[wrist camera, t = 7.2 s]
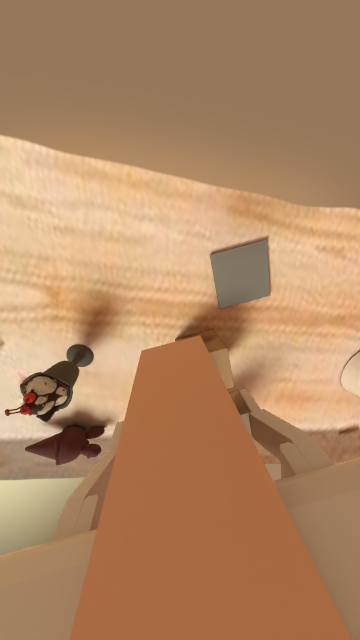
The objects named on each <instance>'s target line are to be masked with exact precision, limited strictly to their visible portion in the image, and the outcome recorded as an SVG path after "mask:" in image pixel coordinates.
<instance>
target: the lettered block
mask: <svg viewBox="0 0 360 640" xmlns="http://www.w3.org/2000/svg"><path fill="white" fill-rule="evenodd" d="M199 335H200V336H201V338H202V340H203V342H204V344H205V346H206V348H207V350H208V352H209V354H210V356H211V358H212V360H213V362H214V364H215V366H216V368H217V370H218V372H219V374H220V376H221V378H222V380H223V382H224V384H225V386H226V388H227V389H229V388H233V387H234V383H233V378H232V372H231V366H230V360H229V354H228V349H227V347H226V346H225V344H224V343H223V342H222V340H221V339H220V338H219V336H218V335H217V334H216V332H215V331H214V330H213V329H211V330H207V331H204V332H200V333H196V334H193V335H189V336H185V337H182V338H178V339H175V342H176V341H180V340H184V339H187V338H191V337H195V336H199Z"/></svg>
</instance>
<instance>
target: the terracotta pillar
mask: <svg viewBox="0 0 360 640" xmlns="http://www.w3.org/2000/svg"><path fill="white" fill-rule="evenodd" d="M69 640H352V639H351V637H350V635H349V633H348V631H347V629H346V627H345V625H344V623H343V621H342V619H341V617H340V615H339V613H338V611H337V609H336V607H335V605H334V603H333V601H332V599H331V597H330V595H329V593H328V591H327V589H326V587H325V585H324V583H323V581H322V579H321V577H320V575H319V573H318V571H317V569H316V567H315V565H314V563H313V561H312V559H311V557H310V555H309V553H308V551H307V549H306V547H305V545H304V543H303V541H302V539H301V537H300V535H299V533H298V531H297V528H296V526H295V524H294V522H293V520H292V518H291V516H290V514H289V512H288V510H287V508H286V506H285V504H284V502H283V500H282V498H281V496H280V494H279V492H278V490H277V488H276V486H275V484H274V482H273V480H272V478H271V476H270V474H269V472H268V470H267V468H266V466H265V464H264V462H263V460H262V458H261V456H260V454H259V452H258V450H257V448H256V446H255V444H254V442H253V440H252V438H251V436H250V434H249V432H248V430H247V428H246V426H245V424H244V422H243V420H242V418H241V416H240V414H239V412H238V410H237V408H236V406H235V404H234V402H233V400H232V398H231V396H230V394H229V392H228V390H227V388H226V386H225V384H224V382H223V380H222V378H221V376H220V374H219V372H218V370H217V368H216V366H215V364H214V362H213V360H212V358H211V356H210V354H209V352H208V350H207V348H206V346H205V344H204V342H203V340H202V338H201V336H200V335H199V336H195V337H191V338H187V339H184V340H180V341H176V342H173V343H169V344H165V345H161V346H158V347H154V348H150V349H147V350H143V351H142V352H141V356H140V360H139V364H138V368H137V372H136V376H135V380H134V384H133V388H132V392H131V396H130V400H129V404H128V408H127V412H126V416H125V420H124V424H123V428H122V432H121V436H120V440H119V444H118V448H117V452H116V456H115V460H114V464H113V468H112V472H111V476H110V480H109V484H108V488H107V492H106V496H105V500H104V504H103V508H102V512H101V516H100V520H99V524H98V528H97V532H96V536H95V540H94V544H93V548H92V552H91V556H90V560H89V564H88V567H87V571H86V575H85V579H84V583H83V587H82V591H81V595H80V599H79V603H78V607H77V611H76V615H75V619H74V623H73V627H72V631H71V635H70V639H69Z"/></svg>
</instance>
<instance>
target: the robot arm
mask: <svg viewBox="0 0 360 640" xmlns="http://www.w3.org/2000/svg"><path fill="white" fill-rule="evenodd" d="M341 383H342V386H343V388H344V389H345V390H346V391H348V392H350V393H352V394H354V395H357V396H358V397H359V398H360V351H359V352H358V353H357V354H356V355H355V356H354V357H352V359H351V360H350V361H349V362H348V363H347V365H346V366H345V368H344V370H343V373H342V376H341ZM229 394H230V396H231V398H232V400H233V402H234V404H235V406H236V408H237V410H238V412H239V414H240V416H241V418H242V420H243V422H244V424H245V426H246V428H247V430H248V432H249V434H250V436H251V437H252V438H254V439H255V440H256V441H257V442H258V443H260V444H261V445H262V446H263V447H264V448H265V449H267V450H268V451H269V452H270V453H271V454H273V455H274V456H275V457H276V458H277V459H278V460H280V461H281V479H279V480H275V481H273V482H274V484H275V486H276V488H277V490H278V492H279V494H280V496H281V498H282V500H283V502H284V504H285V506H286V508H287V510H288V512H289V514H290V516H291V518H292V520H293V522H294V524H295V526H296V528H297V531H298V533H299V535H300V537H301V539H302V541H303V543H304V545H305V547H306V549H307V551H308V553H309V555H310V557H311V559H312V561H313V563H314V565H315V567H316V569H317V571H318V573H319V575H320V577H321V579H322V581H323V583H324V585H325V587H326V589H327V591H328V593H329V595H330V597H331V599H332V601H333V603H334V605H335V607H336V609H337V611H338V613H339V615H340V617H341V619H342V621H343V623H344V625H345V627H346V629H347V631H348V633H349V635H350V637H351V639H352V640H360V458H356V459H353V460H349V461H345V462H342V463H338V464H335V463H334V462H333V461H332V460H331V459H330V458H329V456H328V455H327V454H326V453H325V452H324V450H323V449H322V448H321V447H320V446H319V445H318V443H317V442H316V441H315V440H314V439H313V437H312V436H311V435H309V434H307V433H306V432H304V431H302V430H300V429H298V428H297V427H295V426H293V425H291V424H289V423H288V422H286V421H284V420H282V419H280V418H279V417H277V416H275V415H273V414H271V413H270V412H268V411H266V410H264V409H262V410H261V409H260V407H259V406H258V404H257V403H256V401H255V400H254V398H253V397H252V395H251V394H250V392H249V391H248V389H247V388H244V389H241V390H237V391H233V392H230V393H229ZM123 424H124V421H122V422H118V423H117V424H116V426H115V430H114V433H113V436H112V440H111V443H110V446H109V450H108V451H107V452H105V453H104V454H103V456H102V457H101V458H100V460H99V461H98V462H97V463H96V465H95V466H94V467H93V468H92V470H91V471H90V472H89V473H88V475H87V476H86V477H85V478H84V480H83V481H82V482H81V484H80V485H79V486H78V487H77V489H76V490H75V491H74V492H73V494H72V495H71V496H70V497H69V499H68V500H67V501H66V504H65V506H64V509H63V511H62V514H61V516H60V519H59V521H58V524H57V526H56V528H55V531H54V533H53V536H52V538H51V541H50V542H47V543H43V544H40V545H36V546H32V547H29V548H25V549H21V550H18V551H14V552H10V553H7V554H3V555H0V640H69V639H70V635H71V631H72V627H73V623H74V619H75V615H76V611H77V607H78V603H79V599H80V595H81V591H82V587H83V583H84V579H85V575H86V571H87V567H88V564H89V560H90V556H91V552H92V548H93V544H94V540H95V536H96V532H97V528H98V524H99V520H100V516H101V512H102V508H103V504H104V500H105V496H106V492H107V488H108V484H109V480H110V476H111V472H112V468H113V464H114V460H115V456H116V452H117V448H118V444H119V440H120V436H121V432H122V428H123Z"/></svg>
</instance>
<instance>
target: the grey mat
mask: <svg viewBox="0 0 360 640" xmlns="http://www.w3.org/2000/svg"><path fill="white" fill-rule="evenodd" d="M210 258H211V264H212V269H213V275H214V281H215V286H216V292H217V298H218V303H219V308H220V309H222V308H225V307H229V306H233V305H236V304H240V303H244V302H247V301H251V300H255V299H259V298H262V297H266V296H270V281H269V265H268V249H267V240H263V241H259V242H255V243H252V244H248V245H244V246H241V247H237V248H233V249H229V250H226V251H222V252H218V253H215V254H211V255H210Z"/></svg>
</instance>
